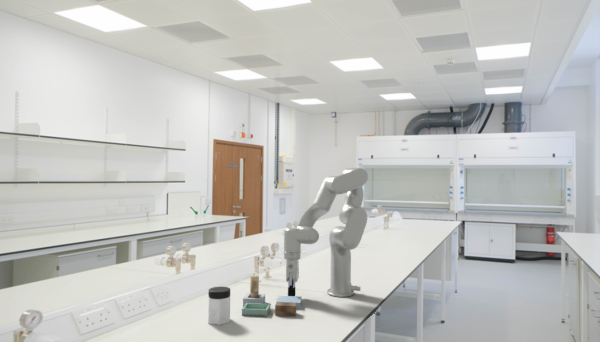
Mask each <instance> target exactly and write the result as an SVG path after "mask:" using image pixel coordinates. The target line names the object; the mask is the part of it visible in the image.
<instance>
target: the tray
mask: <svg viewBox="0 0 600 342" xmlns="http://www.w3.org/2000/svg"><path fill="white" fill-rule="evenodd" d="M270 312H271V303H264V304H260V303H246V304H245V306H244V307H243V306H242V308H241V316H244V315H246V316H251V317H268V315H269V313H270ZM246 316H245V317H246Z"/></svg>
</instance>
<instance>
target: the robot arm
mask: <svg viewBox="0 0 600 342" xmlns="http://www.w3.org/2000/svg"><path fill="white" fill-rule="evenodd" d="M368 180H369V174H368V172H367V170H366V169H364V168H363V167H348V168H345V169H343V170H342V172H341V173H340V175H329V176H326V177H325V178H324V179H323V181H322V182H321V185H320V187H319V189H318V191H317V193H316V196H315V197H314V199H313V202H312V203H311V205H309V207H308V208H307V210H306V211H305V212H304V213H303V215H302V216H301V218H300V220H299V222H298V224H297V226H296V227H287V228H285V229H284V232H283V259H284V260H286V262H285V280H286V282H287V283H288V285H287V286H288V287H287V296H296V283H297V282H298V281H299V278H300V274H299V273H300V268H299V267H300V260H301V255H302V254H301V250H302V247H301V245H303V244H304V245H314V244H316V243H317V242H318V241H319V239H320V233H319V231H318V230H316V228H314V225H315V224H316V222H317V221H318V220H320V218H321V217H323V216H325V215H326V214H328V213H329V212H330V210H331V208H332V206H333V203H334V201H335V200H336V197H337V195H344V194H345V196H344V200H343V202H342V206H341V208H340V211H339V215H338V218H339V221H340V222H341V223H342V224H344V225H345V226H341V225H339V226H335V227H333V228H332V229H331V231H330V233H329V238H328V239H329V245H330V288H328V289H327V290H326V294H328V295H330V296H333V297H338V298H345V297H346V298H348V297H353V296H354V294H355V291H358V292H361V286H358V285H352V282H351V281H352V278H351V277H352V275H351V274H352V252H351V250H355V249H357V247H358V246H359V245H360V243H361V240H362V237H363V235H364V232H365V229H366V226H367V223H368V214H367V211H366V210H365V208H364V207H362V203H363V201H364V188H363V186H364V185H366V183H367V182H368Z"/></svg>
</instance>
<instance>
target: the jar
mask: <svg viewBox="0 0 600 342" xmlns="http://www.w3.org/2000/svg"><path fill="white" fill-rule="evenodd" d="M207 317H208V319H207V321H208V322H207V323H208V324H210V325H215V324H217V326H221V324H222V325H225V324H228V323H230V322H231V288H230V287H228V286H214V287H210V288H209V289H208V316H207Z"/></svg>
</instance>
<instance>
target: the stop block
mask: <svg viewBox="0 0 600 342" xmlns="http://www.w3.org/2000/svg"><path fill="white" fill-rule="evenodd" d="M276 302H277V301H276ZM274 316H276V317H279V316H280V317H281V316H282V317H296V316H297V309H296V303H281V302H277V303H275V305H274Z"/></svg>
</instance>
